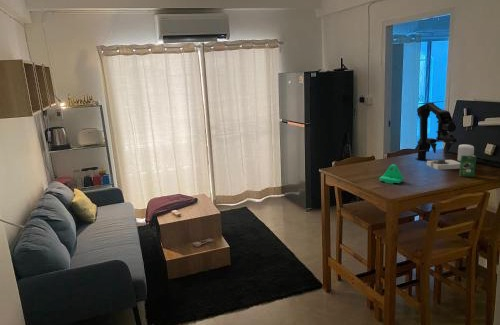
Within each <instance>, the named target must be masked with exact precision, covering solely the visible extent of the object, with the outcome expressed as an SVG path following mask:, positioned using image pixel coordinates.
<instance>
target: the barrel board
mask: <svg viewBox="0 0 500 325" xmlns="http://www.w3.org/2000/svg"><path fill="white" fill-rule="evenodd" d="M444 160H445V164H437V163H435V160H426V166H427V167H430V168H432V169H435V170H439V171H440V170H457V169H459V170H460V162H461V161H458V160H454V159H444Z"/></svg>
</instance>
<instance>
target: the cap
mask: <svg viewBox="0 0 500 325" xmlns="http://www.w3.org/2000/svg"><path fill="white" fill-rule="evenodd" d="M445 160H446V159H445V158H444V159H443V158H436V159H434V161H435V163H437V164H445Z"/></svg>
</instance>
